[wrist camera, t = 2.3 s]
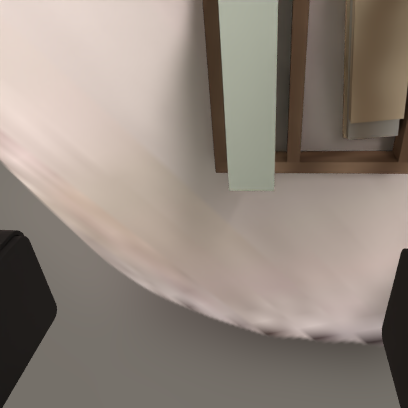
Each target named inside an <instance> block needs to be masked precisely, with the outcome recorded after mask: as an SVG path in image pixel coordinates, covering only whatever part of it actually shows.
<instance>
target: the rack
mask: <svg viewBox="0 0 408 408" xmlns="http://www.w3.org/2000/svg"><path fill="white" fill-rule="evenodd" d="M203 12H204V25H205V38H206V51H207V65H208V78H209V91H210V104H211V117H212V130H213V143H214V156H215V169H216V173H228V164H227V146H226V129H225V111H224V93H223V76H222V58H221V40H220V22H219V5H218V0H203ZM308 16H309V0H293V5H292V31H291V57H290V83H289V109H288V135H287V151H275V173H378V174H408V86H407V95H406V104H405V113H404V119H400V120H399V130H398V136H395V140H394V145H393V150H392V151H300V150H301V133H302V117H303V100H304V83H305V66H306V50H307V33H308Z"/></svg>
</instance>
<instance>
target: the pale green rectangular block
mask: <svg viewBox="0 0 408 408" xmlns="http://www.w3.org/2000/svg"><path fill="white" fill-rule="evenodd" d="M218 5H219V22H220V40H221V58H222V76H223V93H224V111H225V129H226V146H227V164H228V182H229V191H274V178H275V131H276V80H277V30H278V0H218Z"/></svg>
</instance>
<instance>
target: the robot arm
mask: <svg viewBox="0 0 408 408" xmlns="http://www.w3.org/2000/svg"><path fill="white" fill-rule="evenodd" d="M56 313H57V306H56V303H55V301H54V298H53V296H52V294H51V291H50V289H49V286H48V284H47V281H46V279H45V276H44V274H43V272H42V269H41V267H40V265H39V262H38V260H37V257H36V255H35V253H34V250H33V248H32V245H31V243H30V241H29V239H28V238H27V237H26V236H24V235H23V233H22V232H20V231H13V230H0V408H2V407H3V405H4V404H5V402H6V400H7V399H8V397H9V395H10V394H11V392H12V390H13V388H14V387H15V385H16V383H17V382H18V380H19V378H20V377H21V375H22V373H23V372H24V370H25V368H26V366H27V365H28V363H29V361H30V359H31V358H32V356H33V354H34V353H35V351H36V349H37V348H38V346H39V344H40V343H41V341H42V339H43V338H44V336H45V334H46V332H47V331H48V329H49V327H50V326H51V324H52V322H53V321H54V319H55V317H56ZM382 339H383V344H384V347H385V351H386V355H387V359H388V362H389V366H390V370H391V373H392V377H393V381H394V384H395V388H396V392H397V396H398V399H399V403H400V407H401V408H408V249H403V250H402V252H401V255H400V259H399V263H398V267H397V271H396V275H395V279H394V283H393V287H392V291H391V295H390V298H389V302H388V306H387V310H386V314H385V318H384V322H383V326H382Z"/></svg>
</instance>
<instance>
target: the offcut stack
mask: <svg viewBox="0 0 408 408" xmlns="http://www.w3.org/2000/svg"><path fill="white" fill-rule="evenodd" d="M407 86H408V0H346V11H345V53H344V95H343V138H348V140H355V139H367V138H378V137H390V136H398V130H399V120H400V119H404V113H405V104H406V95H407Z"/></svg>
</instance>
